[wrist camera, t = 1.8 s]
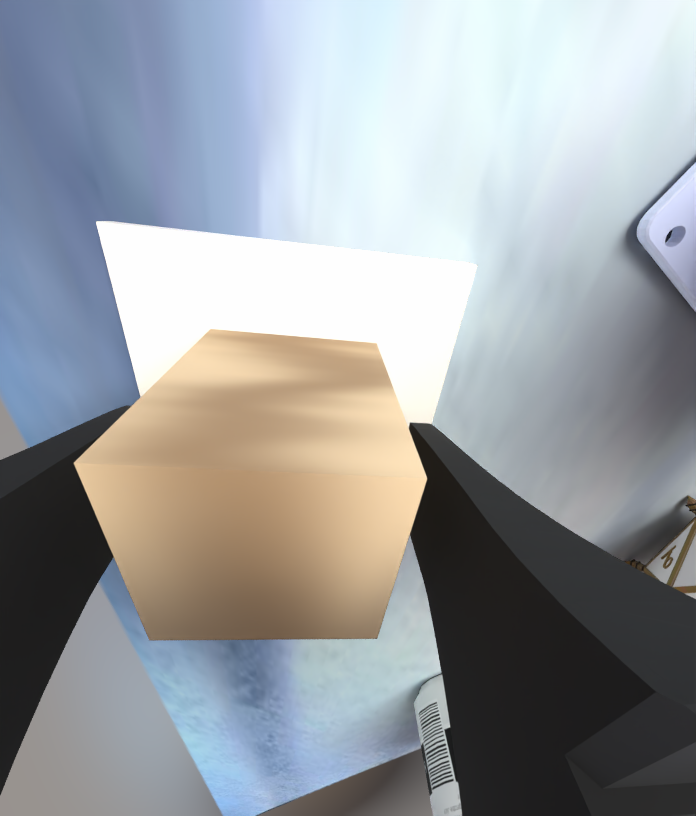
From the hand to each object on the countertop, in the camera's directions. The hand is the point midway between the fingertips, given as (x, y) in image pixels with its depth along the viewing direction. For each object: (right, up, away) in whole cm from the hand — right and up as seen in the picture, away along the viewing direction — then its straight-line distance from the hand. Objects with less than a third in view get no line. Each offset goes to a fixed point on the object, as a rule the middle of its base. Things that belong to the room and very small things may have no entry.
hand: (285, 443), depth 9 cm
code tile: (0, +1, +2) cm, 3 cm away
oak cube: (0, +1, +2) cm, 2 cm away
